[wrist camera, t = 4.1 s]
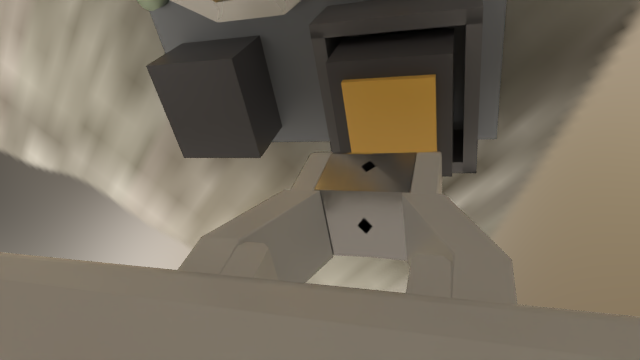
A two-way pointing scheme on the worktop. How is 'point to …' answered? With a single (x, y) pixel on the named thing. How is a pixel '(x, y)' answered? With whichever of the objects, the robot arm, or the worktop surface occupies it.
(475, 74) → the panel
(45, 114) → the worktop surface
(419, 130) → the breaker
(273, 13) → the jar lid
